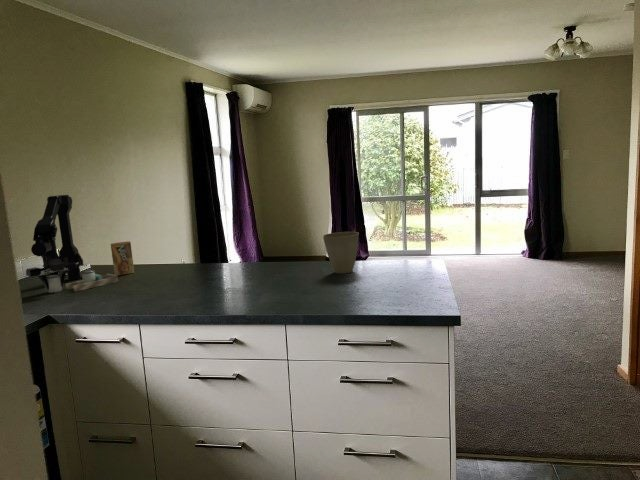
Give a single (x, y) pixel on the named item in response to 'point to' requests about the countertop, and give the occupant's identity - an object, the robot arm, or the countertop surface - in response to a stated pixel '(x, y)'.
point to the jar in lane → (88, 276)
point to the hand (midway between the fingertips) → (54, 288)
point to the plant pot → (342, 250)
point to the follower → (98, 277)
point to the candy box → (122, 258)
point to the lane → (92, 283)
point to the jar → (54, 283)
